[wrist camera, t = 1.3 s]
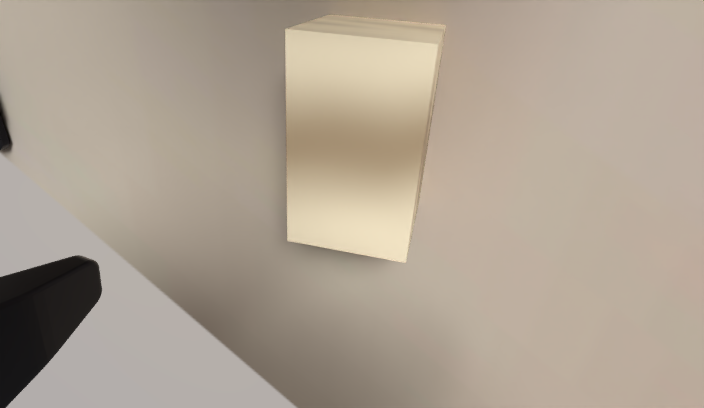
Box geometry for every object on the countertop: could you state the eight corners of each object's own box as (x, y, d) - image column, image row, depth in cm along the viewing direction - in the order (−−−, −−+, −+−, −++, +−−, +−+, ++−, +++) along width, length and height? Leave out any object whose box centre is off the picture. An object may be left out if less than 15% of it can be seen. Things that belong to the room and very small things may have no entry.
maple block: (419, 200, 20) (405, 262, 16) (324, 185, 21) (287, 240, 17) (446, 24, 17) (438, 44, 12) (330, 14, 17) (284, 29, 13)
